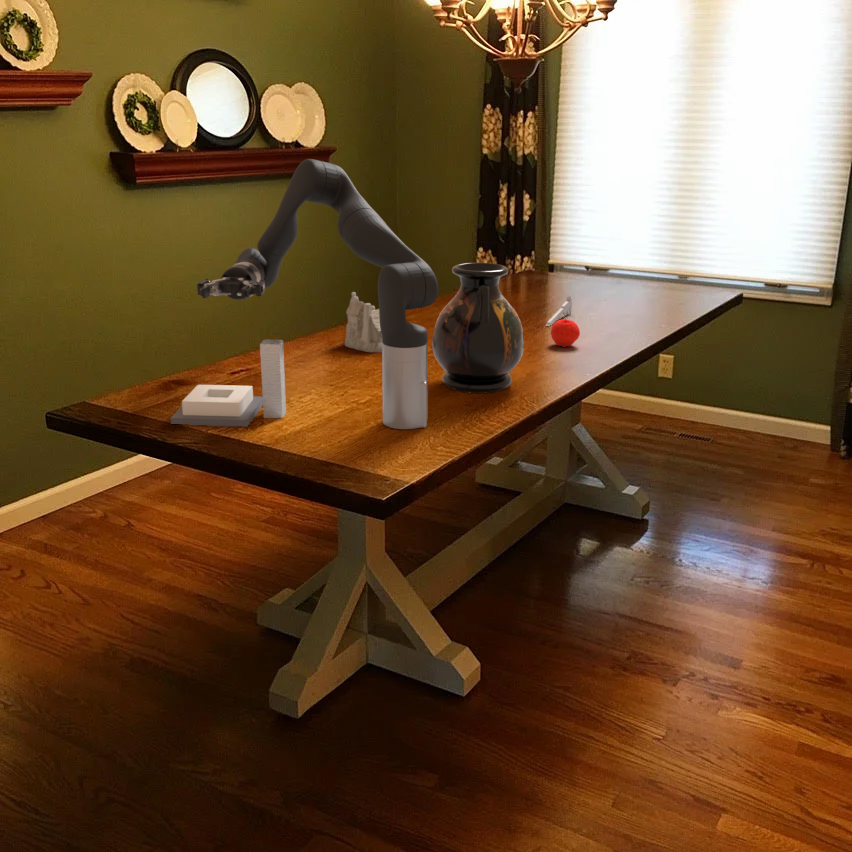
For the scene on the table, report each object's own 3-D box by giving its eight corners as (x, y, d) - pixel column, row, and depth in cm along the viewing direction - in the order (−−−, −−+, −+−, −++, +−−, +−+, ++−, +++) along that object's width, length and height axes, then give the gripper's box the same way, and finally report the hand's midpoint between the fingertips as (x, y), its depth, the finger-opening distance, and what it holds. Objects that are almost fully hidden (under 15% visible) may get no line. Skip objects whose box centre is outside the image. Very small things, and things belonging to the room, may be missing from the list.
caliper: (568, 314, 296) (569, 295, 294) (571, 315, 296) (572, 295, 294) (545, 327, 279) (546, 306, 277) (548, 327, 279) (549, 307, 277)
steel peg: (286, 412, 201) (283, 339, 196) (282, 418, 197) (279, 344, 192) (267, 411, 201) (264, 339, 196) (263, 417, 197) (259, 344, 192)
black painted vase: (529, 397, 212) (535, 275, 203) (435, 399, 211) (436, 275, 202) (514, 371, 233) (519, 259, 223) (428, 372, 231) (429, 259, 222)
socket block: (264, 402, 207) (263, 383, 206) (247, 426, 192) (246, 405, 190) (193, 401, 208) (191, 381, 206) (171, 424, 193) (169, 404, 191)
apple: (584, 347, 256) (586, 320, 254) (563, 351, 252) (565, 324, 250) (565, 341, 263) (566, 315, 260) (543, 344, 258) (545, 318, 256)
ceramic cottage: (368, 354, 247) (369, 297, 243) (333, 344, 259) (334, 289, 255) (414, 348, 257) (416, 294, 253) (379, 339, 269) (380, 287, 265)
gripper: (209, 263, 215) (189, 276, 200) (271, 264, 214) (255, 277, 199) (212, 295, 217) (191, 310, 202) (272, 296, 217) (257, 311, 201)
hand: (223, 294), depth 200 cm, fingers open, 8 cm apart
